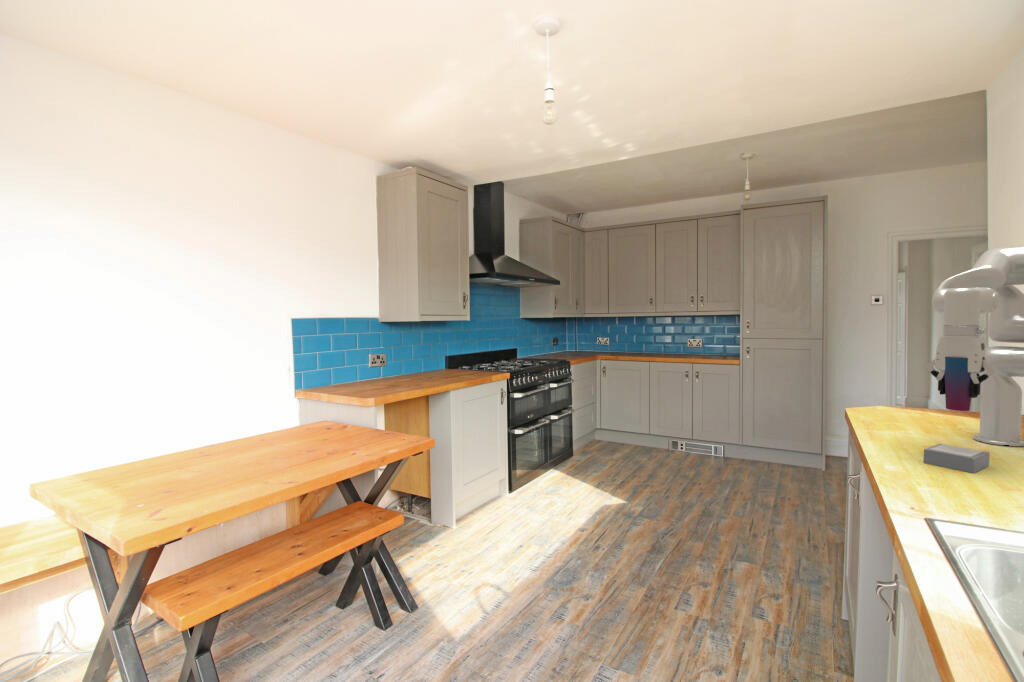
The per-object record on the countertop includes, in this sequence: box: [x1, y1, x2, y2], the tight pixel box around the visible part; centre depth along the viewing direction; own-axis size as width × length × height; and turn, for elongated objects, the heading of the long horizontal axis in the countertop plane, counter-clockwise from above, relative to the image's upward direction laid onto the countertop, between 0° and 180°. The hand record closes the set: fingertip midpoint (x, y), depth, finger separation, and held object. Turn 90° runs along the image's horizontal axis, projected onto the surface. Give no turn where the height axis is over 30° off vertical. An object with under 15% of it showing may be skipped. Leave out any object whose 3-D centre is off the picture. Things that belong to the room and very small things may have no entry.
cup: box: [944, 357, 972, 412], centre depth 138 cm, size 7×7×15 cm
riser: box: [922, 443, 990, 474], centre depth 139 cm, size 11×11×4 cm
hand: (958, 395), depth 138 cm, fingers closed on cup, 6 cm apart
